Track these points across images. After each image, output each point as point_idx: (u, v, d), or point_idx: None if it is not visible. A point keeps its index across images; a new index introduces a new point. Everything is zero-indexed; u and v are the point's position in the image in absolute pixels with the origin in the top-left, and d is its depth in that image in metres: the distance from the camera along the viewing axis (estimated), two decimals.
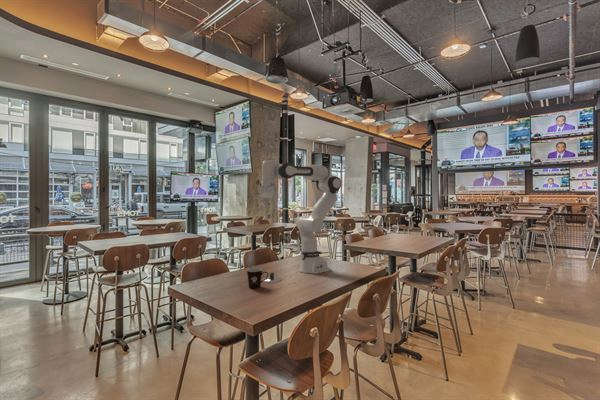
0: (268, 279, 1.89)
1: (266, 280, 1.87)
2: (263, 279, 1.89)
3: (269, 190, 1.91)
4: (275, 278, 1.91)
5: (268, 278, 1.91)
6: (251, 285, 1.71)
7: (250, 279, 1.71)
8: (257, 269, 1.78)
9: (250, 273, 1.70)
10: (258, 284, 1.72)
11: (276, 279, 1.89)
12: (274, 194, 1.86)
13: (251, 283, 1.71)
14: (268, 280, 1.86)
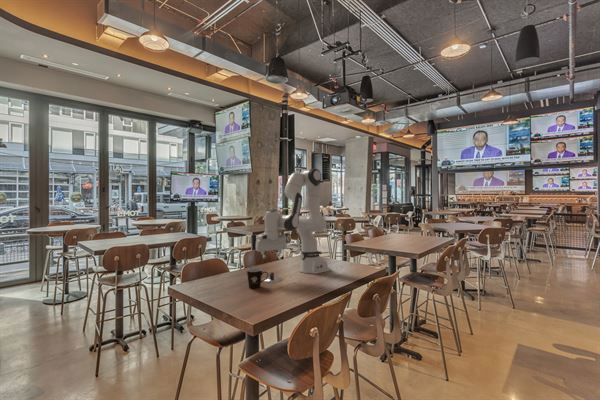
0: (268, 279, 1.89)
1: (266, 280, 1.87)
2: (263, 279, 1.89)
3: (278, 242, 1.90)
4: (275, 278, 1.91)
5: (268, 278, 1.91)
6: (251, 285, 1.71)
7: (250, 279, 1.71)
8: (257, 269, 1.78)
9: (250, 273, 1.70)
10: (258, 284, 1.72)
11: (276, 279, 1.89)
12: None
13: (251, 283, 1.71)
14: (268, 280, 1.86)
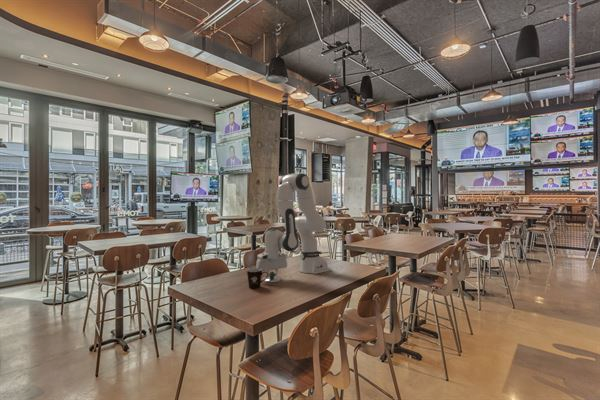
0: (268, 278, 1.89)
1: (266, 279, 1.87)
2: (263, 278, 1.89)
3: (279, 261, 1.90)
4: (275, 277, 1.91)
5: (268, 277, 1.91)
6: (251, 285, 1.71)
7: (250, 279, 1.71)
8: (257, 269, 1.78)
9: (250, 273, 1.70)
10: (258, 284, 1.72)
11: (276, 278, 1.89)
12: None
13: (251, 283, 1.71)
14: (268, 279, 1.86)
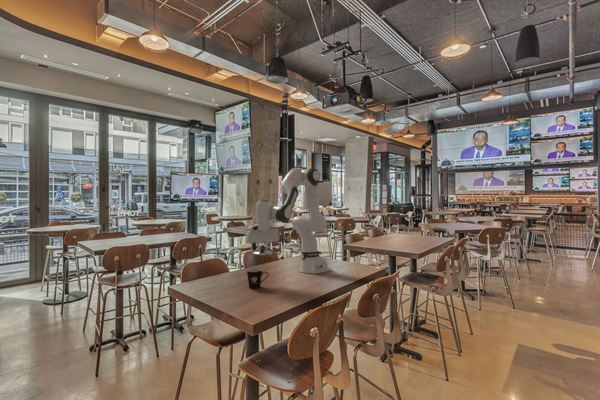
0: (259, 252, 1.80)
1: (256, 252, 1.77)
2: (253, 252, 1.80)
3: (270, 234, 1.81)
4: (266, 251, 1.82)
5: (258, 251, 1.82)
6: (251, 285, 1.71)
7: (250, 279, 1.71)
8: (257, 269, 1.78)
9: (250, 273, 1.70)
10: (258, 284, 1.72)
11: (267, 252, 1.80)
12: None
13: (251, 283, 1.71)
14: (258, 252, 1.77)
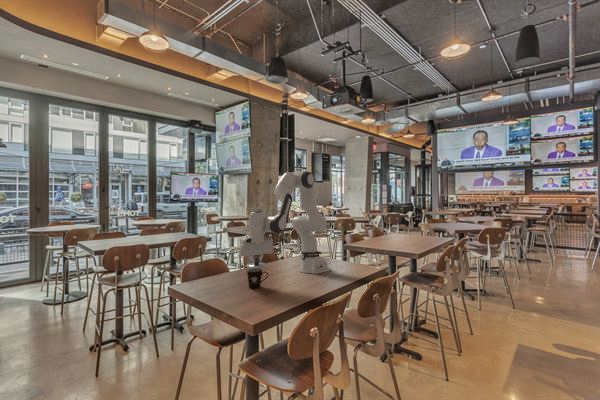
0: (253, 264, 1.73)
1: (250, 265, 1.71)
2: (247, 264, 1.73)
3: (264, 245, 1.74)
4: (260, 264, 1.75)
5: (253, 264, 1.75)
6: (251, 285, 1.71)
7: (250, 279, 1.71)
8: (257, 269, 1.78)
9: (250, 273, 1.70)
10: (258, 284, 1.72)
11: (262, 264, 1.73)
12: None
13: (251, 283, 1.71)
14: (252, 265, 1.71)
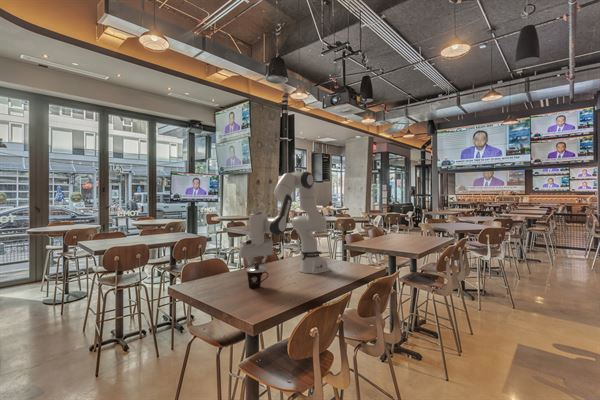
0: (253, 268, 1.73)
1: (250, 270, 1.71)
2: (247, 269, 1.73)
3: (264, 247, 1.74)
4: (260, 268, 1.75)
5: (253, 268, 1.75)
6: (251, 285, 1.71)
7: (250, 279, 1.71)
8: None
9: (250, 273, 1.70)
10: (258, 284, 1.72)
11: (262, 268, 1.73)
12: None
13: (251, 283, 1.71)
14: (252, 270, 1.71)
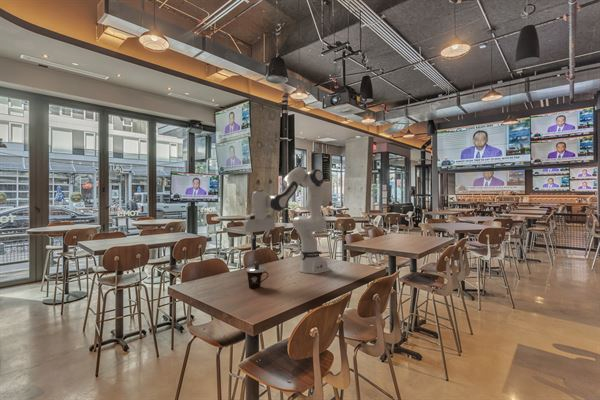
0: (253, 268, 1.73)
1: (250, 270, 1.71)
2: (247, 269, 1.73)
3: (266, 222, 1.89)
4: (260, 268, 1.75)
5: (253, 268, 1.75)
6: (251, 285, 1.71)
7: (250, 279, 1.71)
8: None
9: (250, 273, 1.70)
10: (258, 284, 1.72)
11: (262, 268, 1.73)
12: None
13: (251, 283, 1.71)
14: (252, 270, 1.71)
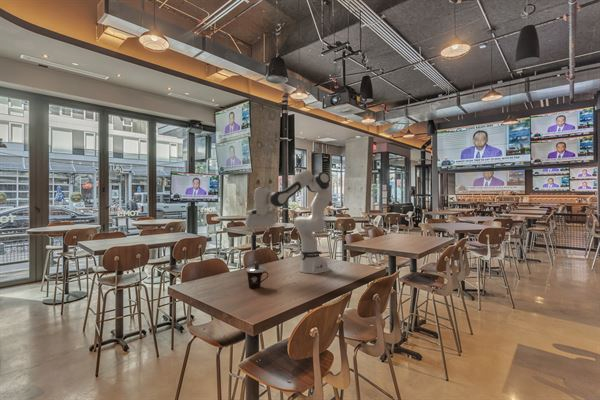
0: (253, 268, 1.73)
1: (250, 270, 1.71)
2: (247, 269, 1.73)
3: (267, 217, 2.00)
4: (260, 268, 1.75)
5: (253, 268, 1.75)
6: (251, 285, 1.71)
7: (250, 279, 1.71)
8: None
9: (250, 273, 1.70)
10: (258, 284, 1.72)
11: (262, 268, 1.73)
12: None
13: (251, 283, 1.71)
14: (252, 270, 1.71)
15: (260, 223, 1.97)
